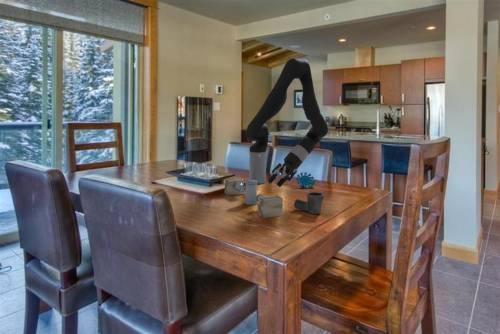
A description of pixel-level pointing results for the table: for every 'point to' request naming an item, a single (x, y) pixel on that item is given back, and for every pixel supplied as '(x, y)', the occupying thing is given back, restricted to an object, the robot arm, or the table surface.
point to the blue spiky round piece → (305, 180)
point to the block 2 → (270, 206)
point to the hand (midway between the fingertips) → (273, 183)
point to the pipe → (311, 203)
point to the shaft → (259, 196)
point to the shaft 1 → (238, 187)
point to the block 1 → (229, 186)
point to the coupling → (251, 192)
